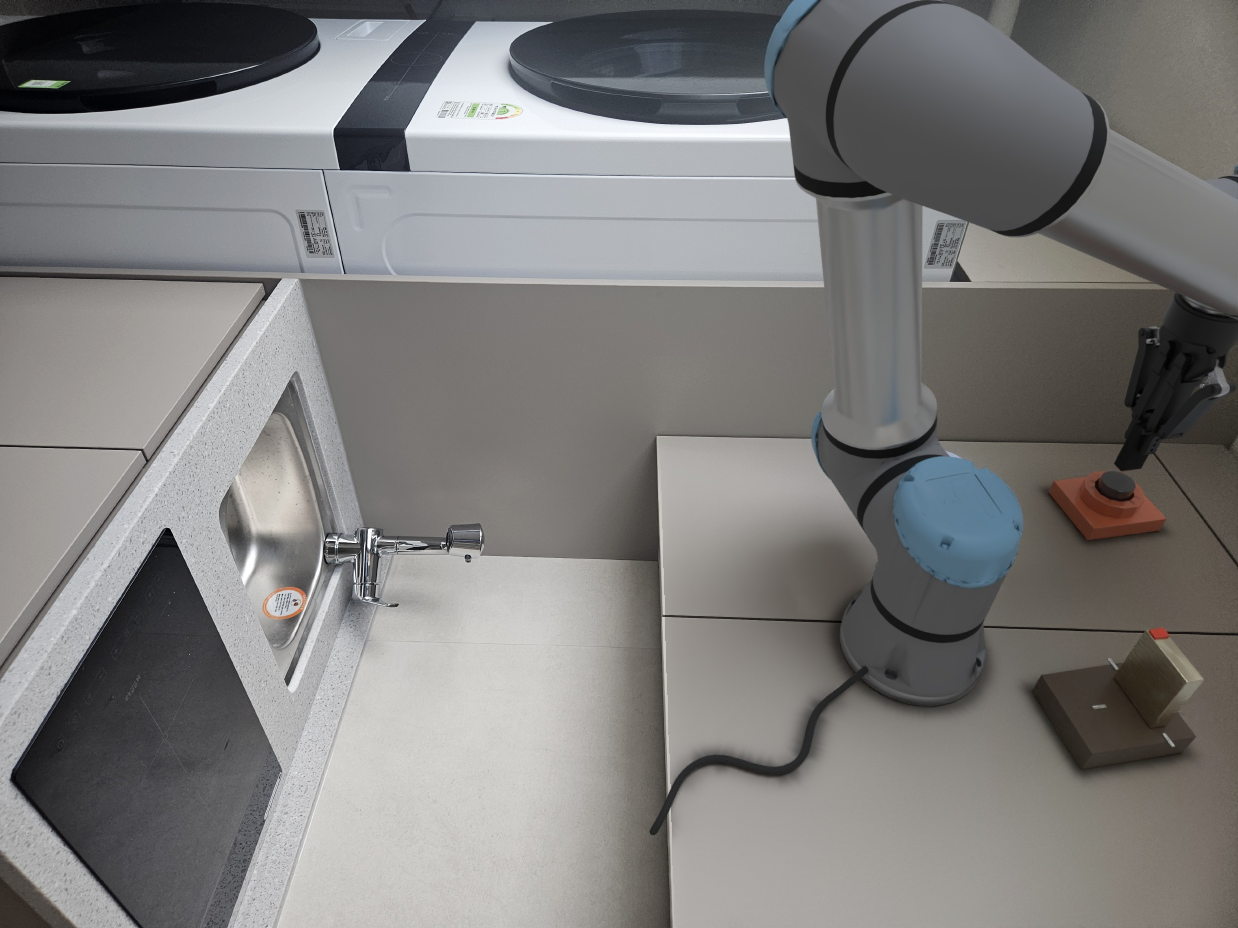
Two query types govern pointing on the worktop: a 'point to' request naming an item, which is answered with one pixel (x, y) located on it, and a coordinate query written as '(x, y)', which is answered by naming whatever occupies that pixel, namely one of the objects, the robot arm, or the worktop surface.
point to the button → (1116, 486)
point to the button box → (1105, 509)
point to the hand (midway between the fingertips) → (1127, 466)
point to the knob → (1157, 677)
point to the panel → (1104, 719)
